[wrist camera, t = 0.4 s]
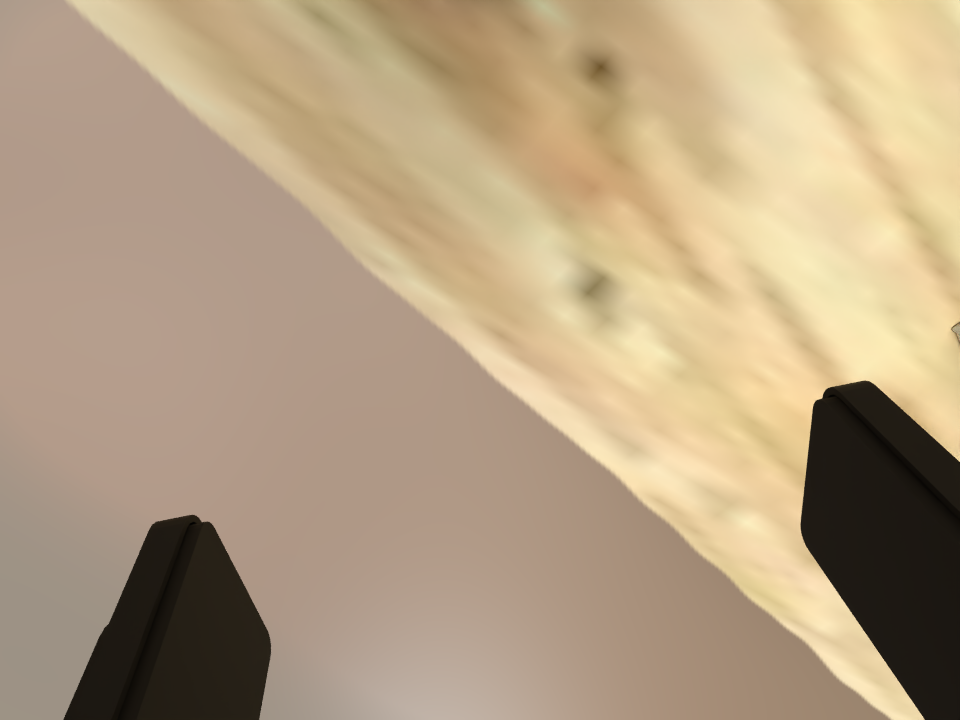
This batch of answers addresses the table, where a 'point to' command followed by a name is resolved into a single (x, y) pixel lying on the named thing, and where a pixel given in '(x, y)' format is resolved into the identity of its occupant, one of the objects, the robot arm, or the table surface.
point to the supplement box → (957, 330)
